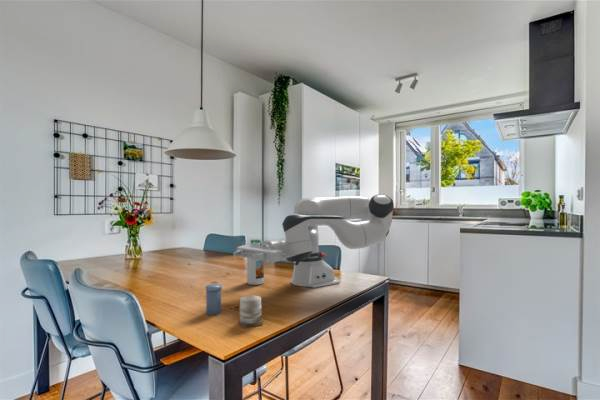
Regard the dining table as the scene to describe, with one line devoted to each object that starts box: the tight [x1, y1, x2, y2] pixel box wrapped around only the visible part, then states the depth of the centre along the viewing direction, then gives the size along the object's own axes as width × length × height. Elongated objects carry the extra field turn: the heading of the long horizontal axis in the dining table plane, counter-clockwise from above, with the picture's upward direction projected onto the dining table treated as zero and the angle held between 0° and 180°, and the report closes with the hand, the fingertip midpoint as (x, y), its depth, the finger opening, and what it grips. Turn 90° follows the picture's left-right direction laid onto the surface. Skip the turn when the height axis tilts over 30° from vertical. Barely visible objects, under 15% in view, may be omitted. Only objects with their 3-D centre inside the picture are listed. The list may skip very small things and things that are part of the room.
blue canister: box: [205, 283, 223, 316], centre depth 102 cm, size 5×5×9 cm
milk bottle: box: [246, 238, 265, 286], centre depth 140 cm, size 8×8×20 cm
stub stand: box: [238, 294, 264, 329], centre depth 93 cm, size 7×7×7 cm
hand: (243, 255), depth 110 cm, fingers open, 8 cm apart
